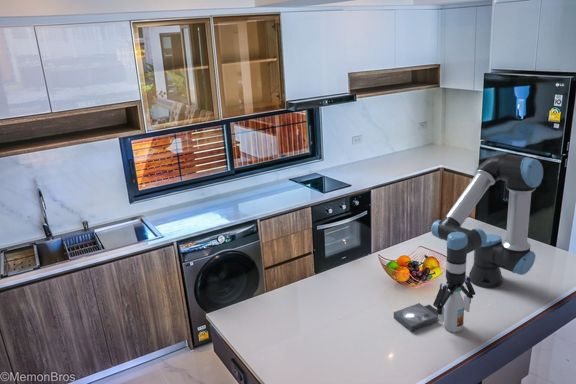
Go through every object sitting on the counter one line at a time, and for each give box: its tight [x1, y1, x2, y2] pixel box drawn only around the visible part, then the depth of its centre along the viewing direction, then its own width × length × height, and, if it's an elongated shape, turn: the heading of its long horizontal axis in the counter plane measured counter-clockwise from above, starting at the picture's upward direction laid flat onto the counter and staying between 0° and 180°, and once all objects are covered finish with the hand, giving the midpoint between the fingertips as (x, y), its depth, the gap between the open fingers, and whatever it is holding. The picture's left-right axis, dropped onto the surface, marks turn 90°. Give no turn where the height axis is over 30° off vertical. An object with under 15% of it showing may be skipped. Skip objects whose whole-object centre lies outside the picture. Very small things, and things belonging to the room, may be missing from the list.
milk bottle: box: [443, 286, 465, 333], centre depth 197 cm, size 8×8×20 cm
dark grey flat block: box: [393, 302, 439, 333], centre depth 208 cm, size 18×12×3 cm, turn 115°
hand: (453, 315), depth 199 cm, fingers open, 13 cm apart
